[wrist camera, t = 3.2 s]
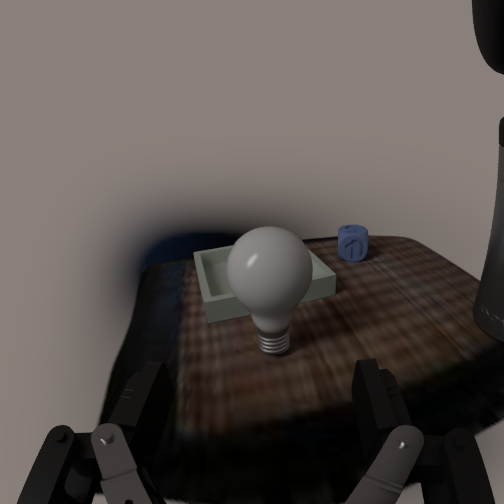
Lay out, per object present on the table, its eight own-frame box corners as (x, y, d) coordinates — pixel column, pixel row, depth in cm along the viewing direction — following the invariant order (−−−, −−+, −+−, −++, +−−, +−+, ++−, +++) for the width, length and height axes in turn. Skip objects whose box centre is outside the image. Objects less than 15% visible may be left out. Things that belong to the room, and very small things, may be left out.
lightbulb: (259, 321, 30) (249, 212, 25) (321, 336, 27) (323, 219, 22) (223, 362, 25) (202, 240, 20) (293, 384, 22) (291, 252, 17)
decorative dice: (338, 262, 40) (338, 234, 39) (338, 250, 44) (338, 224, 42) (367, 262, 39) (369, 234, 38) (364, 250, 43) (366, 224, 41)
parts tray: (292, 251, 45) (292, 235, 44) (335, 294, 33) (336, 274, 32) (196, 269, 42) (193, 252, 41) (208, 323, 30) (204, 302, 29)
